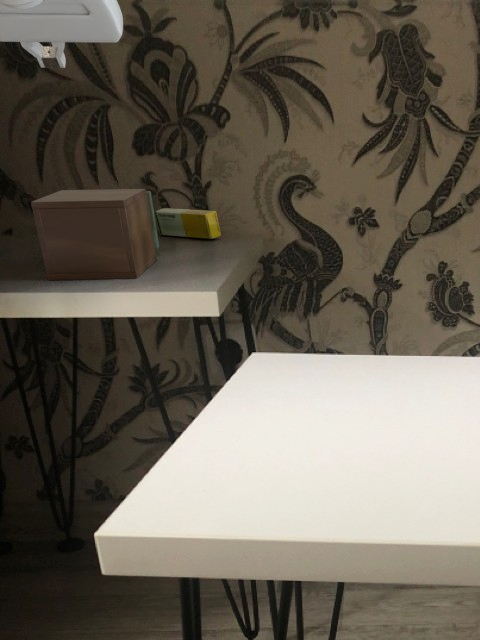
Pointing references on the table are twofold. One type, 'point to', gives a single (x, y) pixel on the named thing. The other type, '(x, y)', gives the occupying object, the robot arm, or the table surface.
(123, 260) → the wooden box
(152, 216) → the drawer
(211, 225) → the medication box
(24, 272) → the table surface
